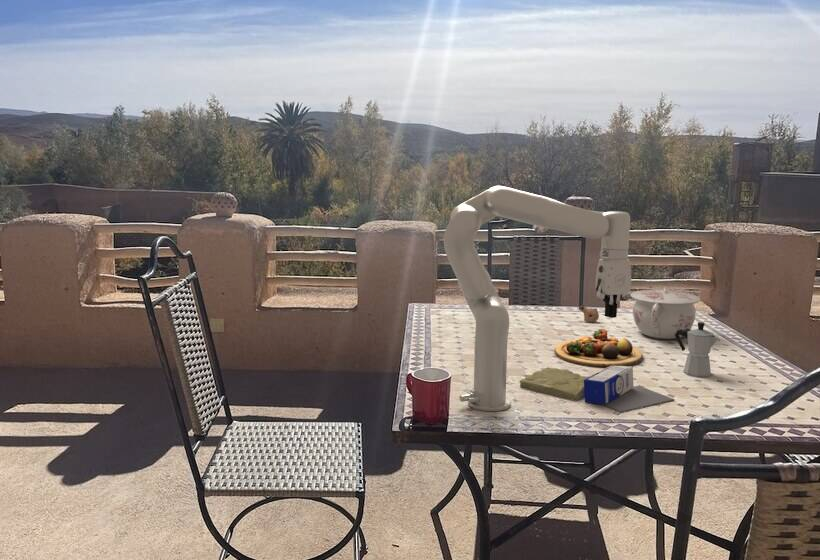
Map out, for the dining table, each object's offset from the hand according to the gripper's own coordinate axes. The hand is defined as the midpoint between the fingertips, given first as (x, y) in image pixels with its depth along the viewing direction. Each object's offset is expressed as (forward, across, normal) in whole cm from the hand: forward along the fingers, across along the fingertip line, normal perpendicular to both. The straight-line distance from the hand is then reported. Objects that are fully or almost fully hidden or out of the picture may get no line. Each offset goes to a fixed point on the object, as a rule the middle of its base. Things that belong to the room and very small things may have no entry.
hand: (610, 316), depth 196 cm
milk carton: (+23, -3, +2) cm, 24 cm away
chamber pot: (+27, +79, +50) cm, 97 cm away
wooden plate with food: (+28, +35, +40) cm, 60 cm away
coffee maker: (+27, +49, +9) cm, 57 cm away
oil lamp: (+27, +68, +82) cm, 110 cm away
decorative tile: (+28, -1, +19) cm, 34 cm away
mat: (+27, +10, 0) cm, 29 cm away
